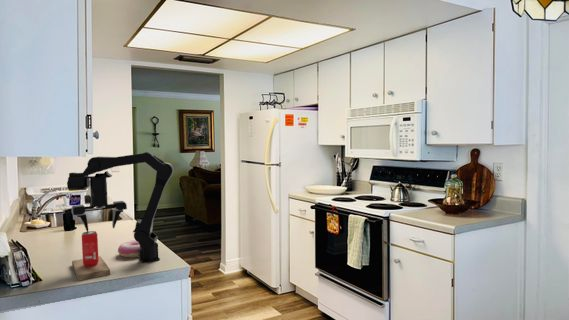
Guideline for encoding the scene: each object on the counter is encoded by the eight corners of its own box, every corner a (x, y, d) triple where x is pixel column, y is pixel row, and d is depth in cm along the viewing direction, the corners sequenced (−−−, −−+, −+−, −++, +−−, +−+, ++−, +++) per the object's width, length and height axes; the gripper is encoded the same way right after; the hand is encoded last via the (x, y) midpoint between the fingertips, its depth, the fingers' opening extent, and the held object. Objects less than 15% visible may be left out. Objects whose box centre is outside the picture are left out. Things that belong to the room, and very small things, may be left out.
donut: (128, 261, 158) (127, 249, 157) (112, 255, 166) (111, 243, 166) (158, 253, 168) (158, 241, 167) (142, 248, 176) (141, 237, 176)
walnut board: (100, 260, 159) (100, 256, 159) (110, 274, 142) (110, 269, 142) (72, 265, 154) (71, 260, 154) (78, 280, 137) (78, 275, 137)
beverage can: (80, 267, 146) (78, 234, 145) (89, 262, 151) (87, 230, 150) (93, 267, 145) (91, 234, 144) (101, 262, 150) (100, 231, 149)
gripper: (120, 185, 166) (121, 223, 167) (69, 189, 156) (71, 229, 157) (126, 188, 157) (127, 227, 158) (72, 192, 146) (74, 235, 147)
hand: (100, 229), depth 155 cm, fingers open, 9 cm apart
